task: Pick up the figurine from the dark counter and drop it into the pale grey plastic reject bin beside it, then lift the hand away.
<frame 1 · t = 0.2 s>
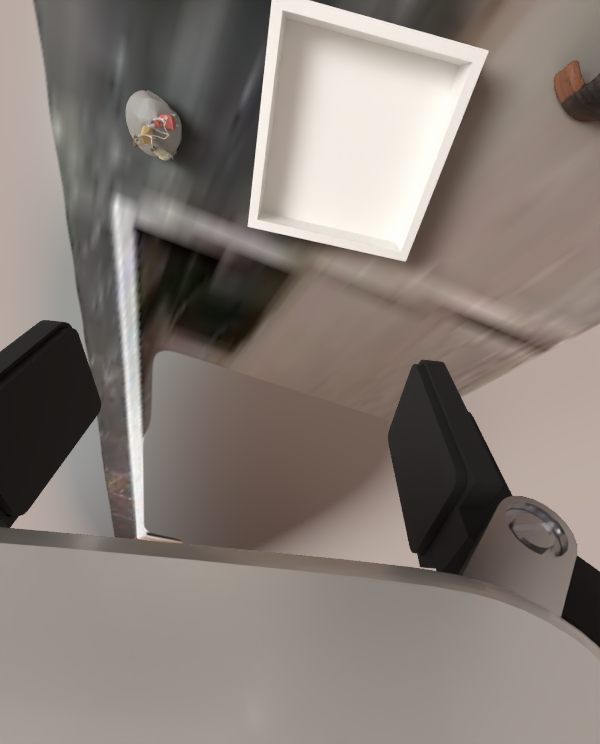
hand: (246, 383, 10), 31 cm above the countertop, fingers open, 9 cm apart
reject bin: (348, 146, 32), on the countertop
figurine: (163, 126, 32), on the countertop
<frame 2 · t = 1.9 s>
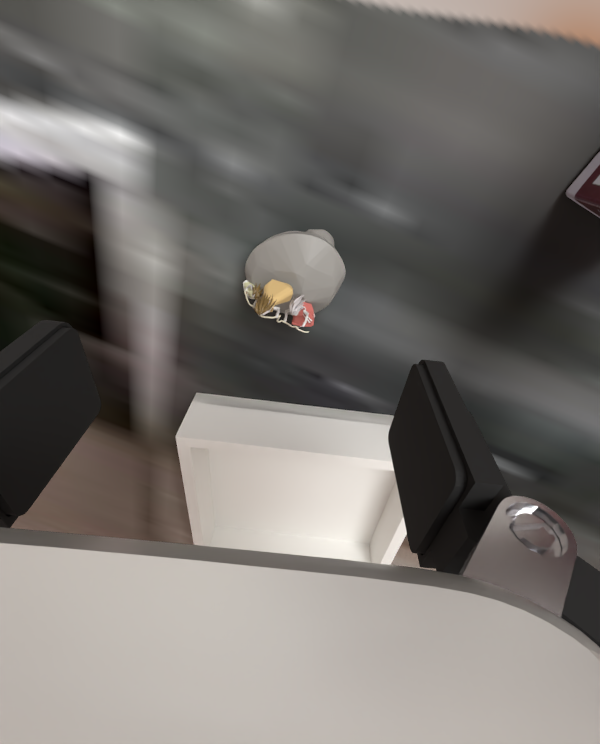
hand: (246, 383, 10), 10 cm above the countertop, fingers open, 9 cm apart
reject bin: (300, 477, 28), on the countertop
figurine: (294, 266, 18), on the countertop
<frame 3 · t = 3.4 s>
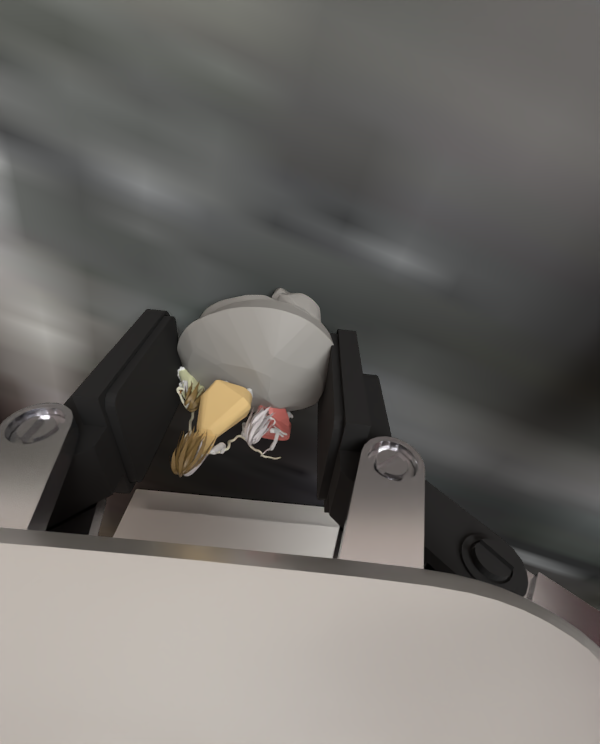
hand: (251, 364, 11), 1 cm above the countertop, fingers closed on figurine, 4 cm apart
reject bin: (283, 574, 22), on the countertop
figurine: (262, 336, 12), on the countertop, touching gripper
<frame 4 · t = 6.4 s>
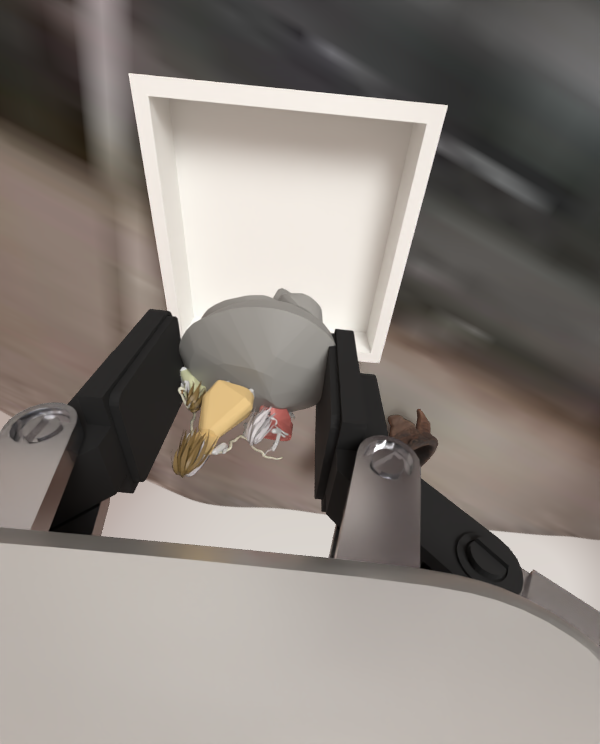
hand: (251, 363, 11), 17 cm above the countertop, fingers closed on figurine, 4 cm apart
reject bin: (286, 232, 25), on the countertop
brown two-tone ridged part: (363, 419, 36), on the countertop
figurine: (263, 336, 12), point 16 cm above the countertop, touching gripper
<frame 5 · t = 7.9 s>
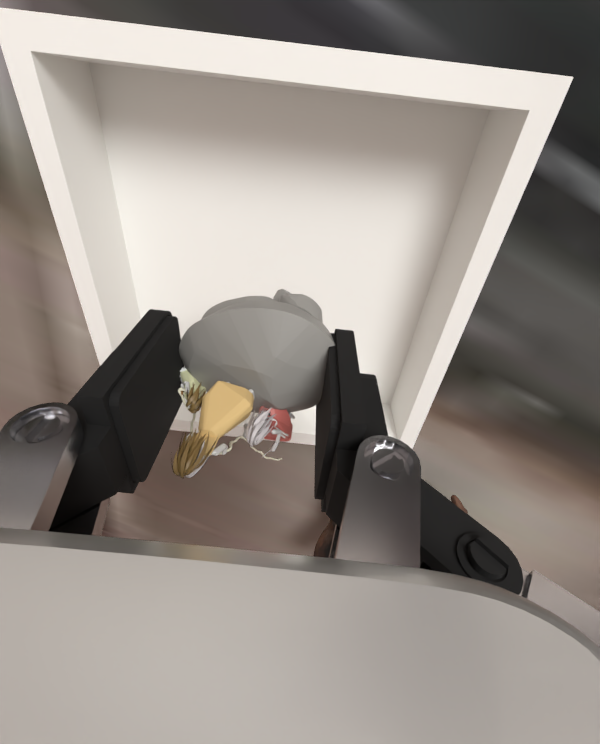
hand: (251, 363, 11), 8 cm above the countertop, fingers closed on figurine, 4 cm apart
reject bin: (281, 270, 17), on the countertop
brown two-tone ridged part: (376, 492, 28), on the countertop
figurine: (263, 337, 12), point 6 cm above the countertop, touching gripper
when the fingers open (5 cm above the countertop, at t = 9.1 s): figurine drops 3 cm, resting on reject bin.
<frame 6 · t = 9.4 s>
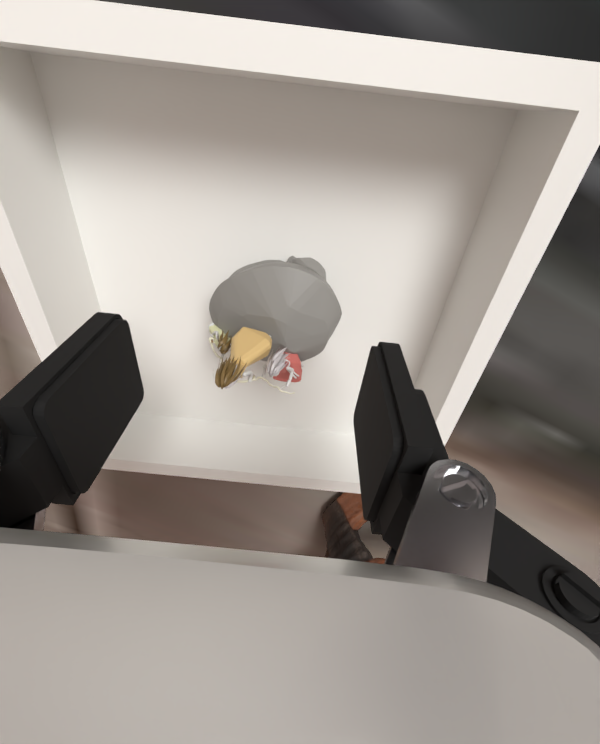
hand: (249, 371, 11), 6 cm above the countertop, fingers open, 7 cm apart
reject bin: (270, 294, 15), on the countertop
brown two-tone ridged part: (377, 520, 26), on the countertop
figurine: (276, 300, 14), point 1 cm above the countertop, touching reject bin
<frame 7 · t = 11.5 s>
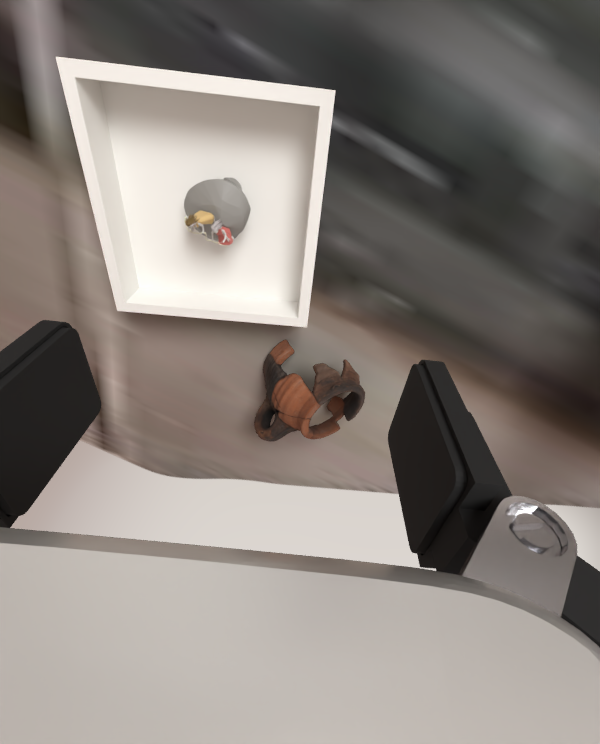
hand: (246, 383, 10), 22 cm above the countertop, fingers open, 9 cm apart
reject bin: (218, 207, 28), on the countertop
brown two-tone ridged part: (302, 376, 38), on the countertop
figurine: (220, 207, 27), point 1 cm above the countertop, touching reject bin
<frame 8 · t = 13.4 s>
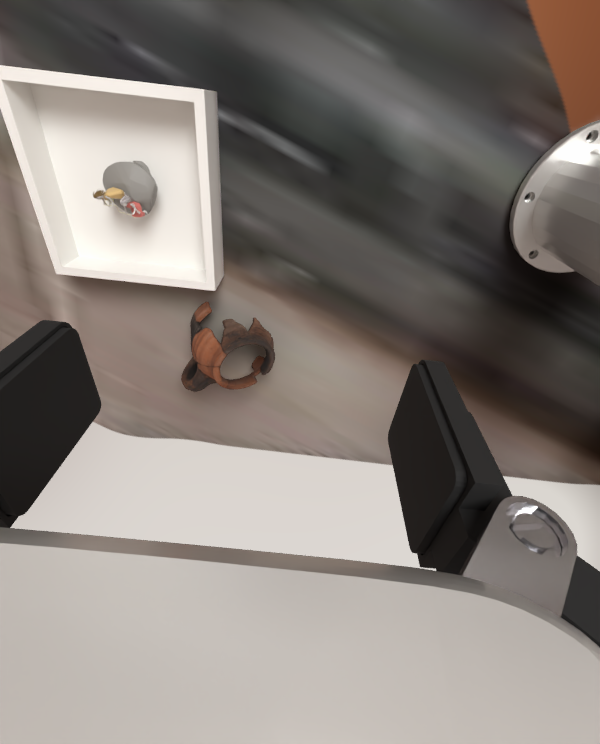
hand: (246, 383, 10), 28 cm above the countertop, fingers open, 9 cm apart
reject bin: (138, 187, 33), on the countertop
brown two-tone ridged part: (227, 337, 43), on the countertop
figurine: (138, 187, 32), point 1 cm above the countertop, touching reject bin
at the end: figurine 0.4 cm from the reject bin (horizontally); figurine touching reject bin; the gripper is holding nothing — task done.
